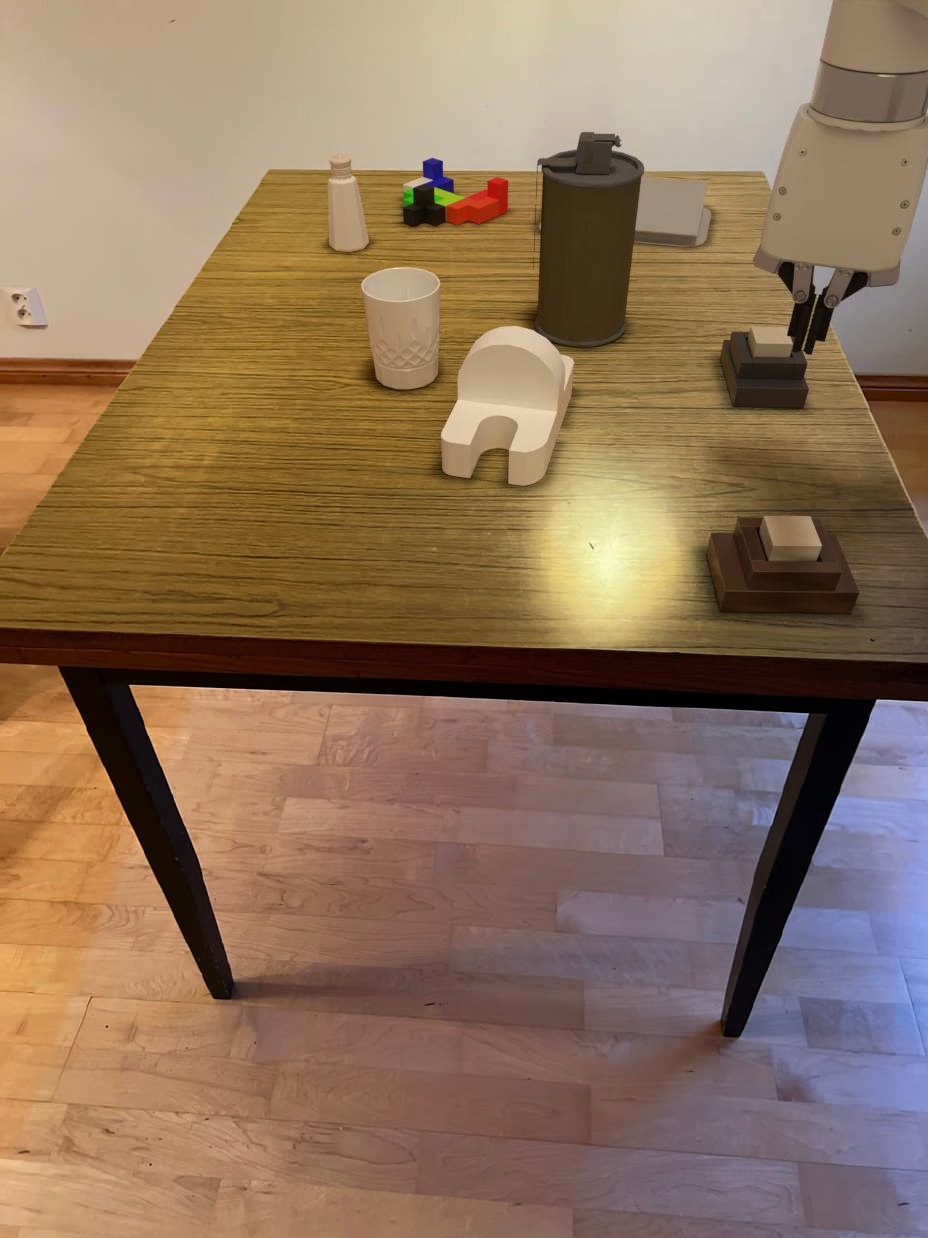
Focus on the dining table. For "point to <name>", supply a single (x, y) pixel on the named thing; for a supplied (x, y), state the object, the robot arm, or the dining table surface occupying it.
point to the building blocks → (450, 199)
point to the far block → (763, 376)
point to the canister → (586, 241)
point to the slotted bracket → (508, 404)
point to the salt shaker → (345, 208)
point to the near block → (778, 574)
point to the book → (671, 212)
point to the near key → (790, 538)
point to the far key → (769, 342)
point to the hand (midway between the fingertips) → (803, 345)
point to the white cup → (403, 325)
